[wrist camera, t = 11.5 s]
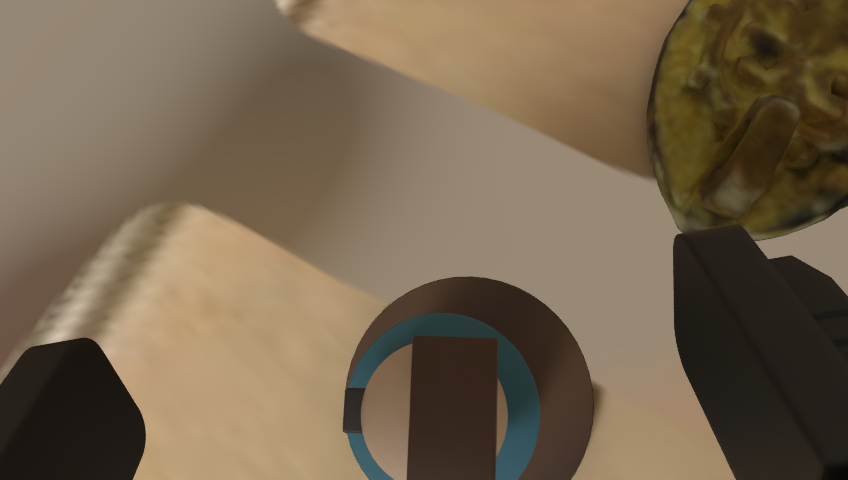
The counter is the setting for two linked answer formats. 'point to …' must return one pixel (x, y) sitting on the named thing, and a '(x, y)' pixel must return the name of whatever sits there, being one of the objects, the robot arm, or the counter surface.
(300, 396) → the counter surface
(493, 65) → the counter surface
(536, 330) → the stand
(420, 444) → the teal pump bottle
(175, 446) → the counter surface
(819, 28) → the mottled olive oval disc
